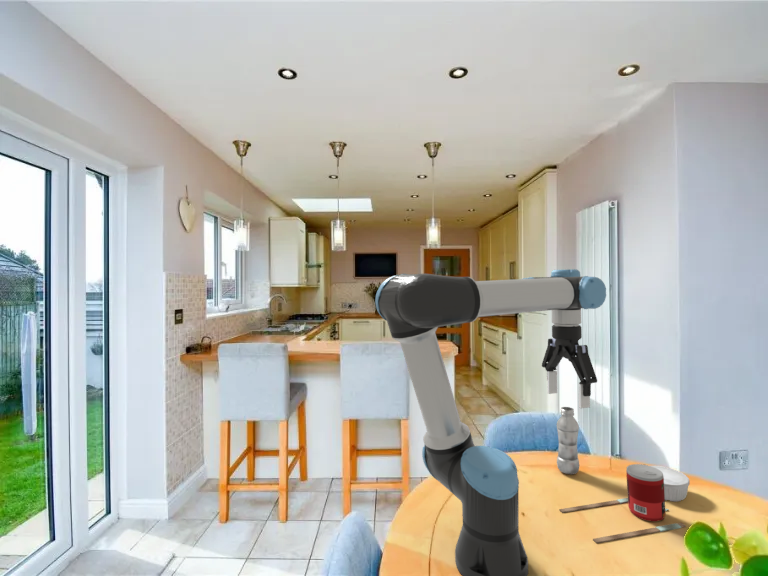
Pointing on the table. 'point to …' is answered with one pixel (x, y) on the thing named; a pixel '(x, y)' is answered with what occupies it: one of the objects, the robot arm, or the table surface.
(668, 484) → the ramekin
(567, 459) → the plastic bottle
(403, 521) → the table surface
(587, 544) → the table surface
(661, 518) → the canned food
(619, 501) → the guide strips
